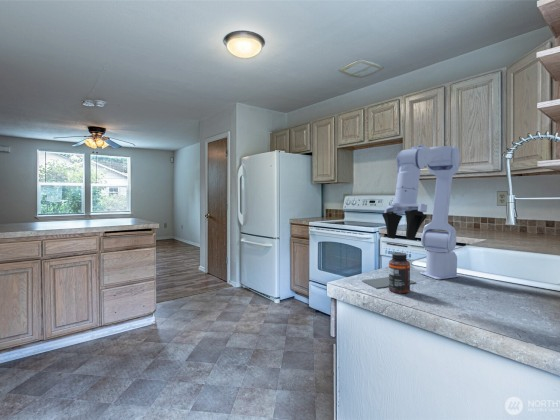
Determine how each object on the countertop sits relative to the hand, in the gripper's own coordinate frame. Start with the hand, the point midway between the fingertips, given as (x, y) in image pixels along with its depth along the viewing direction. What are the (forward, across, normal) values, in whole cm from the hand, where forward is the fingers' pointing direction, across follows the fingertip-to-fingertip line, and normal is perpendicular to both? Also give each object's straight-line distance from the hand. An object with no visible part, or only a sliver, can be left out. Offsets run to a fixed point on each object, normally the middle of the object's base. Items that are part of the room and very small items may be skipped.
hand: (400, 238), depth 86 cm
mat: (+13, -15, +10) cm, 22 cm away
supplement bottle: (+15, -7, +8) cm, 18 cm away
